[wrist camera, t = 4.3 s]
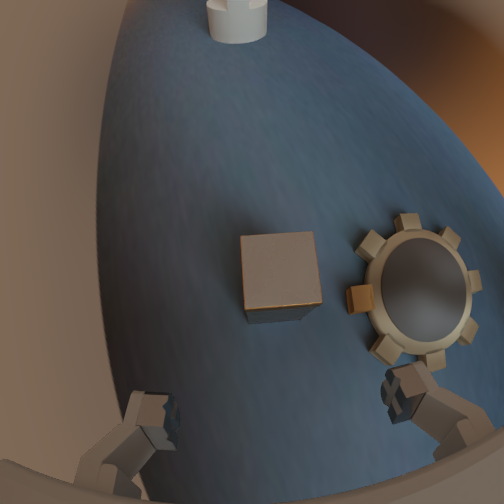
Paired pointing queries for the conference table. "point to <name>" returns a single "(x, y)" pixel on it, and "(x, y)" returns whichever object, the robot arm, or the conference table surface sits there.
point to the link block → (279, 276)
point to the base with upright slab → (237, 20)
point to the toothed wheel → (415, 293)
